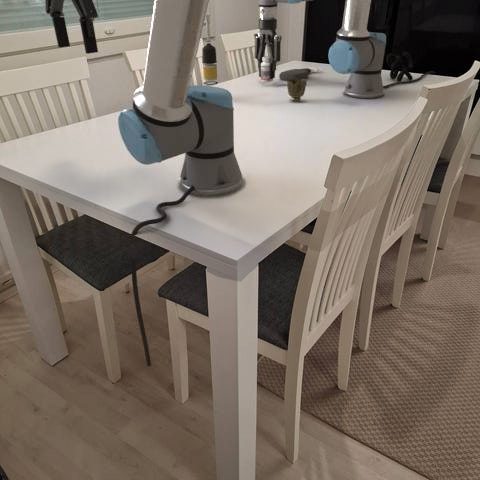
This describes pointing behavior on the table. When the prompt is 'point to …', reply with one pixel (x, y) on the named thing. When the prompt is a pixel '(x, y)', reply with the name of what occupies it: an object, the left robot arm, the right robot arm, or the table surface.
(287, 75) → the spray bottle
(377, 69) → the right robot arm
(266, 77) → the pill bottle
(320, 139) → the table surface
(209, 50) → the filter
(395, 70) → the squiggle
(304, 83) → the cup
